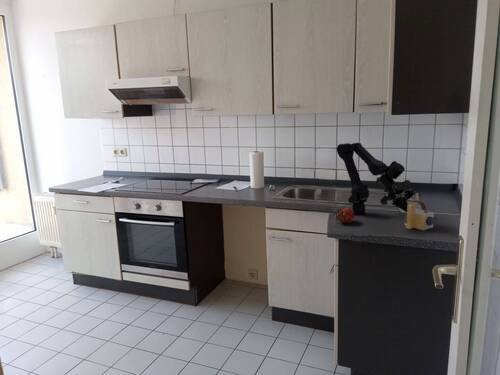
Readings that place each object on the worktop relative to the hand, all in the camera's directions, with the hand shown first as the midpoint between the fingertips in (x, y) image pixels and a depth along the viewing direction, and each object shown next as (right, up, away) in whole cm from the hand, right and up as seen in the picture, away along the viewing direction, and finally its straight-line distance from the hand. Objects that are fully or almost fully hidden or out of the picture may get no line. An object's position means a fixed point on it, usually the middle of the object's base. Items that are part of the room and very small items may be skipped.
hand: (408, 211), depth 179 cm
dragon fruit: (-26, -6, +14) cm, 30 cm away
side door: (+3, -8, -2) cm, 8 cm away
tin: (+10, -3, +22) cm, 25 cm away
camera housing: (+6, -7, +3) cm, 10 cm away
